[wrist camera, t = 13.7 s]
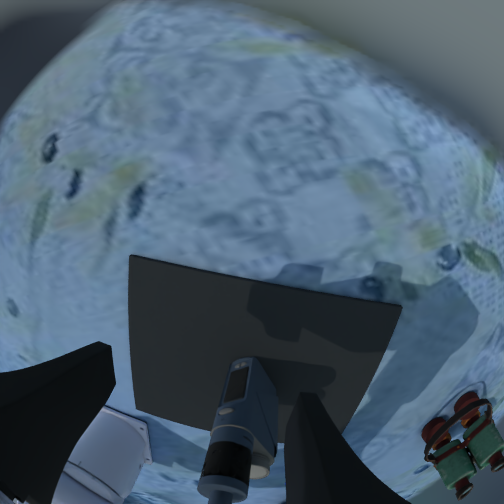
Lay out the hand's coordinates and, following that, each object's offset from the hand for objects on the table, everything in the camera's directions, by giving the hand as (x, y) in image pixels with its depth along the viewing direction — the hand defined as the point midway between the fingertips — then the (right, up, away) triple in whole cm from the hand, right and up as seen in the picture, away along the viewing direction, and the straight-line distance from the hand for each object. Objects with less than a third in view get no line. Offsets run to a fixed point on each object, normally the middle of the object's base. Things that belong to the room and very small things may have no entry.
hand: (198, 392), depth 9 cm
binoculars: (+24, -14, +12) cm, 30 cm away
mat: (+2, -5, +11) cm, 12 cm away
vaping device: (+2, -5, +11) cm, 12 cm away
